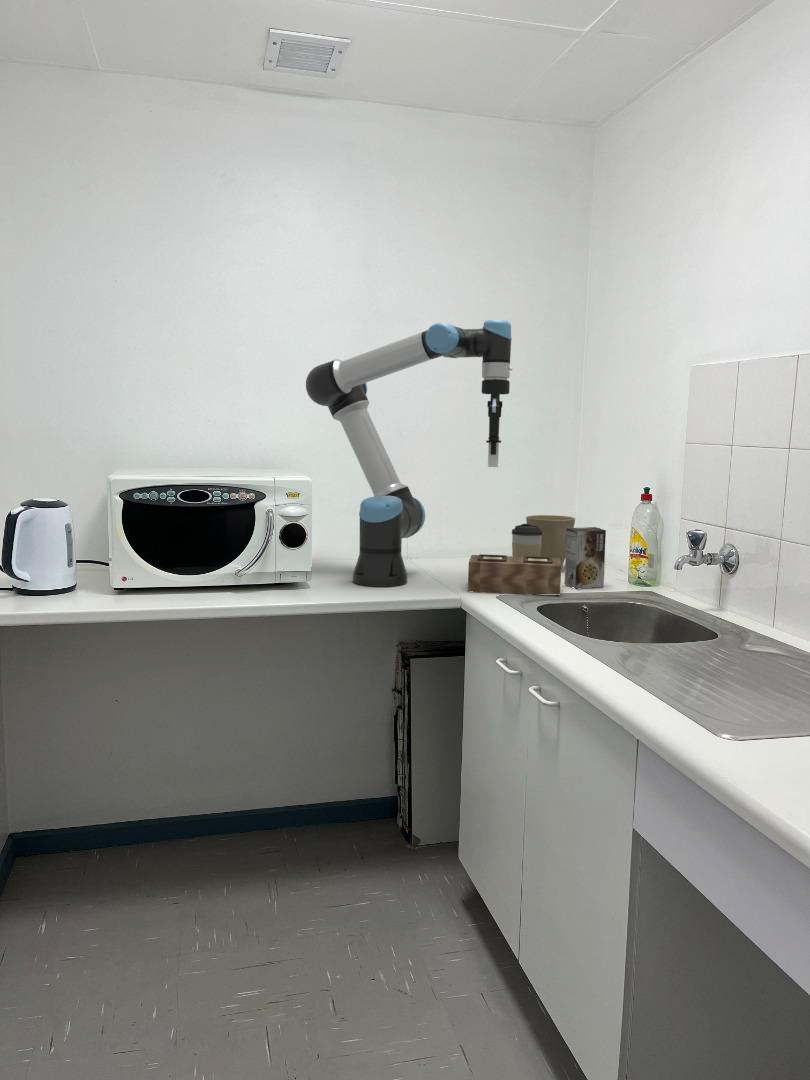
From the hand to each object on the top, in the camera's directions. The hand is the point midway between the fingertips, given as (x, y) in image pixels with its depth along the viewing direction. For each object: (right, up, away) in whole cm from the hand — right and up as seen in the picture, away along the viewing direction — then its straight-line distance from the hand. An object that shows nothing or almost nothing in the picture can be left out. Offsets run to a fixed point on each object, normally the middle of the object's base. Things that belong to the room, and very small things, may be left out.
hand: (493, 466), depth 226 cm
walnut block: (+5, -33, -4) cm, 34 cm away
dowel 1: (-1, -32, -4) cm, 32 cm away
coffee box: (+25, -33, +2) cm, 42 cm away
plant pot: (+20, -29, +29) cm, 46 cm away
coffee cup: (+11, -31, +16) cm, 36 cm away
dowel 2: (+11, -32, -5) cm, 34 cm away
